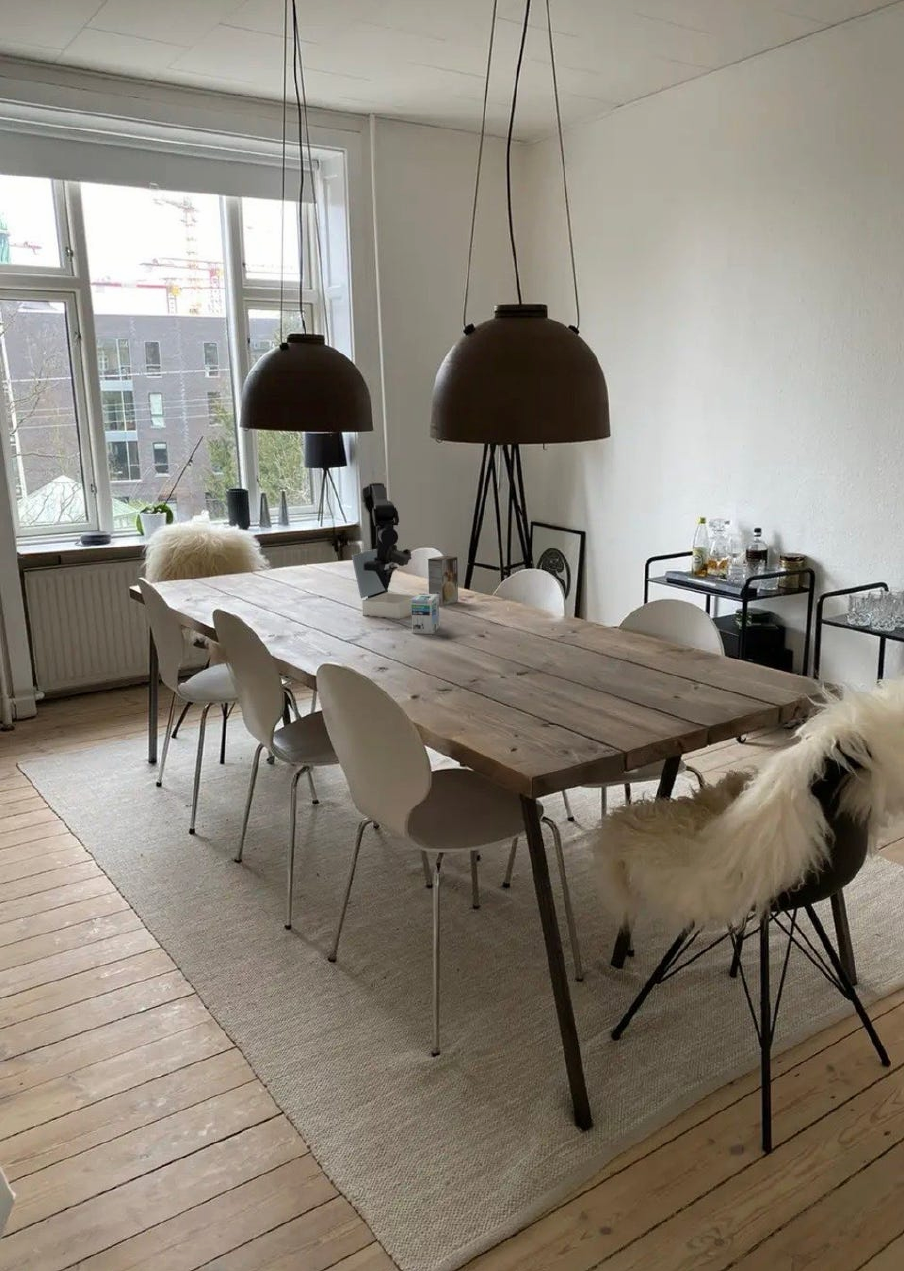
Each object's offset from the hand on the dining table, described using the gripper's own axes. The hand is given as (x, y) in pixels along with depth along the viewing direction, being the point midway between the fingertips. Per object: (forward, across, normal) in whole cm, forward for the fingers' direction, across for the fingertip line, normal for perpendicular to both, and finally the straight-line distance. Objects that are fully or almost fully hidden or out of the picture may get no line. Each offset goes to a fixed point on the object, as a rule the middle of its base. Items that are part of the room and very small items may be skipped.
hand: (386, 588), depth 330 cm
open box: (+8, 0, -2) cm, 8 cm away
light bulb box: (+9, -17, -24) cm, 31 cm away
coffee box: (+8, +22, -10) cm, 26 cm away
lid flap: (-5, 0, +7) cm, 8 cm away
